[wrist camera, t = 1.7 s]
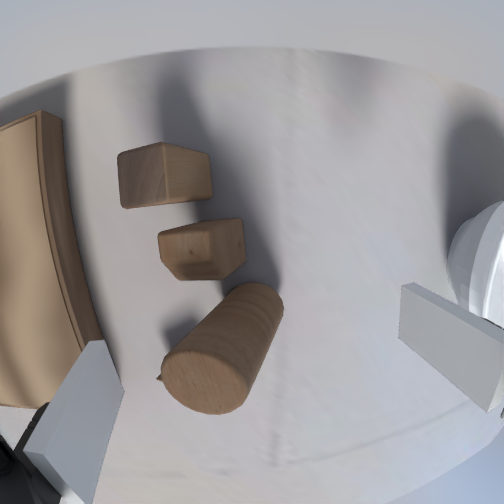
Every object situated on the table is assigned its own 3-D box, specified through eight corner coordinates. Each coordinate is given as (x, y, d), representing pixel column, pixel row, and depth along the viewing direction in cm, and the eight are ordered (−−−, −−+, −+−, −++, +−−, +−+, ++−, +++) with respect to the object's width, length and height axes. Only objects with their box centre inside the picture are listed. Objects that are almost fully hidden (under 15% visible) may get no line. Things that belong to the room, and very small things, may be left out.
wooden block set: (160, 165, 22) (59, 158, 12) (271, 148, 20) (217, 111, 10) (191, 376, 25) (130, 451, 15) (288, 384, 23) (259, 481, 13)
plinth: (7, 386, 21) (-8, 405, 17) (-50, 169, 16) (-74, 170, 12) (121, 385, 23) (112, 411, 19) (61, 119, 18) (40, 109, 14)
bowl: (399, 322, 26) (457, 364, 17) (442, 158, 23) (512, 156, 15) (483, 331, 29) (529, 358, 21) (517, 209, 26) (568, 218, 18)
